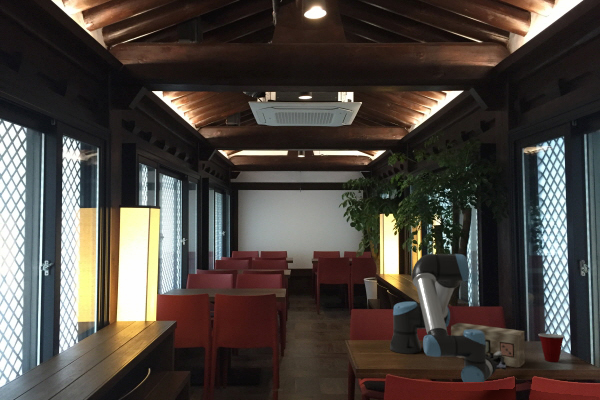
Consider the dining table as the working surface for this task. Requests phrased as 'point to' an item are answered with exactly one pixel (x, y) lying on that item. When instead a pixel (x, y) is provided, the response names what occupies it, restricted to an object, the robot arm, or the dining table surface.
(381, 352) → the dining table surface
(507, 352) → the button
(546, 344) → the plastic cup
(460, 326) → the console
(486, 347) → the button
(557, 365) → the dining table surface
